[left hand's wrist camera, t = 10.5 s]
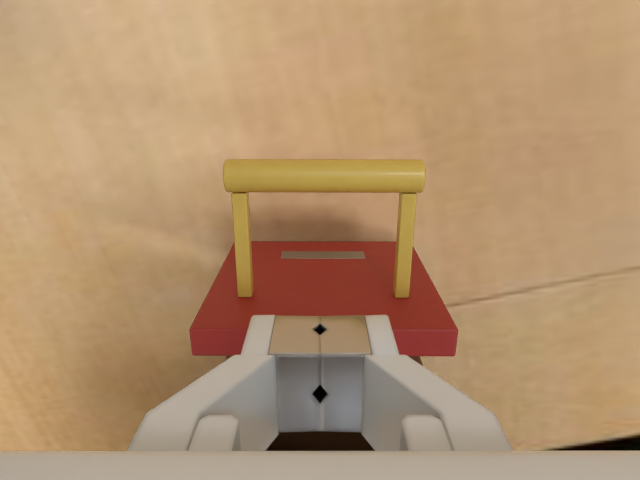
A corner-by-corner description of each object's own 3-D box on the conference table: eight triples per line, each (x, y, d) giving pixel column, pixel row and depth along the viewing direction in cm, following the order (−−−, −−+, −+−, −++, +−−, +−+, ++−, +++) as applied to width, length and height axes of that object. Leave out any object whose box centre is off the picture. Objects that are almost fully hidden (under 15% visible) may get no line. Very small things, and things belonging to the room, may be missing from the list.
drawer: (227, 137, 24) (171, 174, 15) (418, 137, 24) (478, 175, 15) (248, 454, 31) (219, 607, 22) (394, 455, 31) (424, 608, 22)
